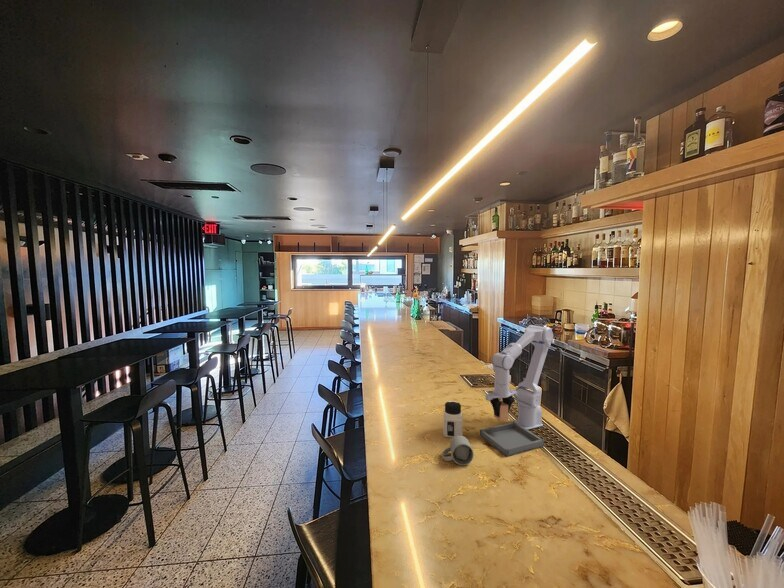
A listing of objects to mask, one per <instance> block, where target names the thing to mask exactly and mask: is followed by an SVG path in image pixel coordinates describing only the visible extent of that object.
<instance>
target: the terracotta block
mask: <svg viewBox="0 0 784 588" xmlns="http://www.w3.org/2000/svg"><path fill="white" fill-rule="evenodd" d="M500 402H502V403H501V406H500V415H499V417H497V416H496V415H495V414H494V413H493V418H495V419H497V420H498V421H500V422H502V421H506V420H509V414H508V405H507V404H505V403H504V402H503V400H502V401H500Z"/></svg>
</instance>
